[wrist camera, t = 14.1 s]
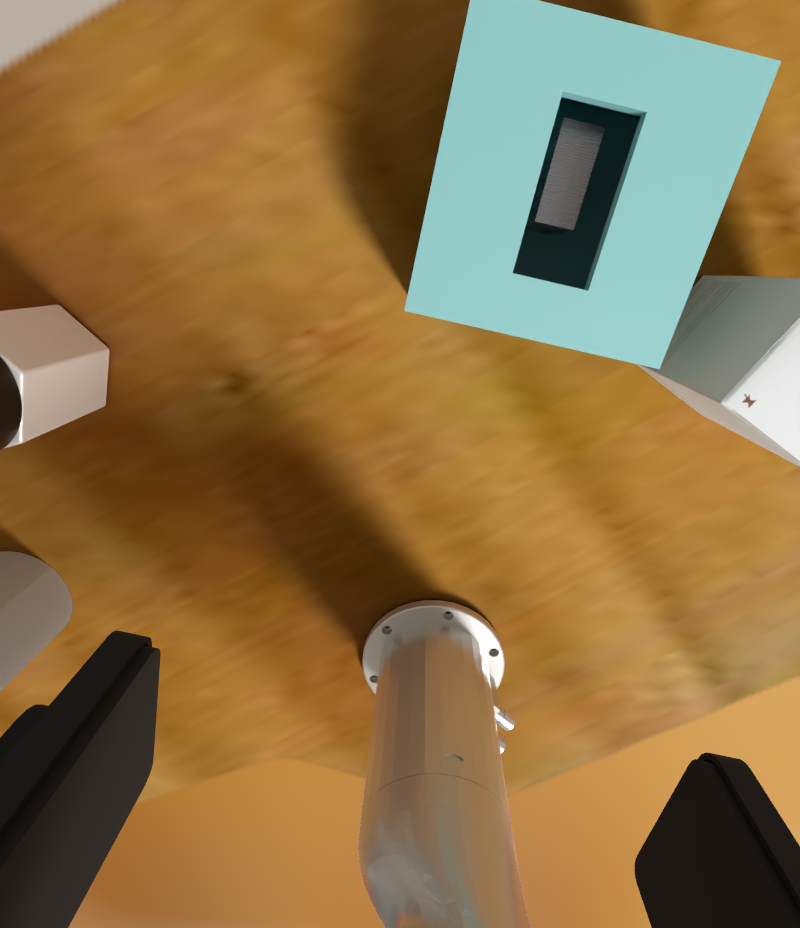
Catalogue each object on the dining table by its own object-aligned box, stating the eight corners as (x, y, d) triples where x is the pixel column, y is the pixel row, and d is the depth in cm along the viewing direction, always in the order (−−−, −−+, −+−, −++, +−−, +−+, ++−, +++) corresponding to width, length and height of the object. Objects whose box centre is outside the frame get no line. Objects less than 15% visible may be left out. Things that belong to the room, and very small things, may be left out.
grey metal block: (605, 126, 28) (573, 230, 29) (575, 149, 33) (550, 235, 35) (564, 117, 27) (534, 221, 29) (541, 141, 33) (517, 227, 35)
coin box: (680, 117, 33) (781, 61, 24) (602, 342, 38) (659, 369, 29) (460, 63, 33) (473, -17, 23) (409, 298, 38) (404, 310, 28)
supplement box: (701, 417, 40) (818, 484, 28) (627, 359, 38) (716, 402, 27) (781, 335, 37) (946, 369, 25) (705, 269, 36) (841, 273, 24)
